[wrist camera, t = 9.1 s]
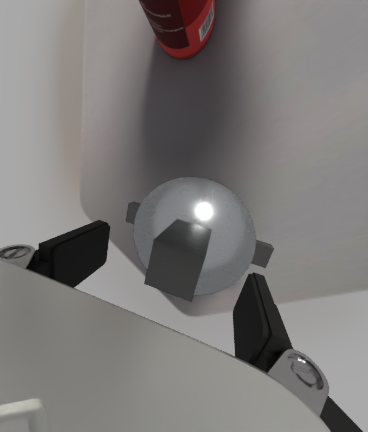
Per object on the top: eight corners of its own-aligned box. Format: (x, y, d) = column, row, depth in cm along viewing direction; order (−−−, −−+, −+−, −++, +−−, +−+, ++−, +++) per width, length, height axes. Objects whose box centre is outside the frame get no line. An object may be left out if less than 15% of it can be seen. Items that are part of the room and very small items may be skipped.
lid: (148, 163, 17) (103, 154, 11) (274, 196, 15) (312, 210, 9) (130, 267, 21) (86, 309, 14) (230, 305, 19) (234, 374, 12)
